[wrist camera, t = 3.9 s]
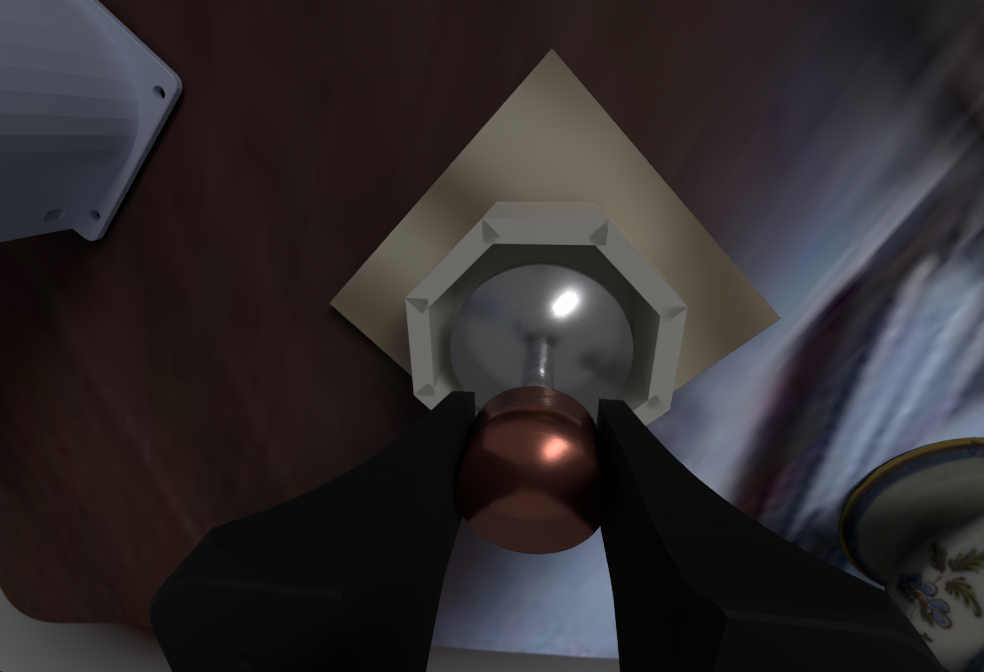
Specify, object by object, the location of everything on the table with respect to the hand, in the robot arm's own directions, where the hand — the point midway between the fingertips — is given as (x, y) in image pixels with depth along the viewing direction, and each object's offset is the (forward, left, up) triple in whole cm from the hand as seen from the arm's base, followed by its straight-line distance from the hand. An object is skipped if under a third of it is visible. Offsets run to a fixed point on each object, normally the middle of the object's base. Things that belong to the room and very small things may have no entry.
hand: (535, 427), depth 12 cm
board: (0, 0, -10) cm, 10 cm away
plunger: (0, 0, -5) cm, 5 cm away
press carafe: (0, 0, -10) cm, 10 cm away
